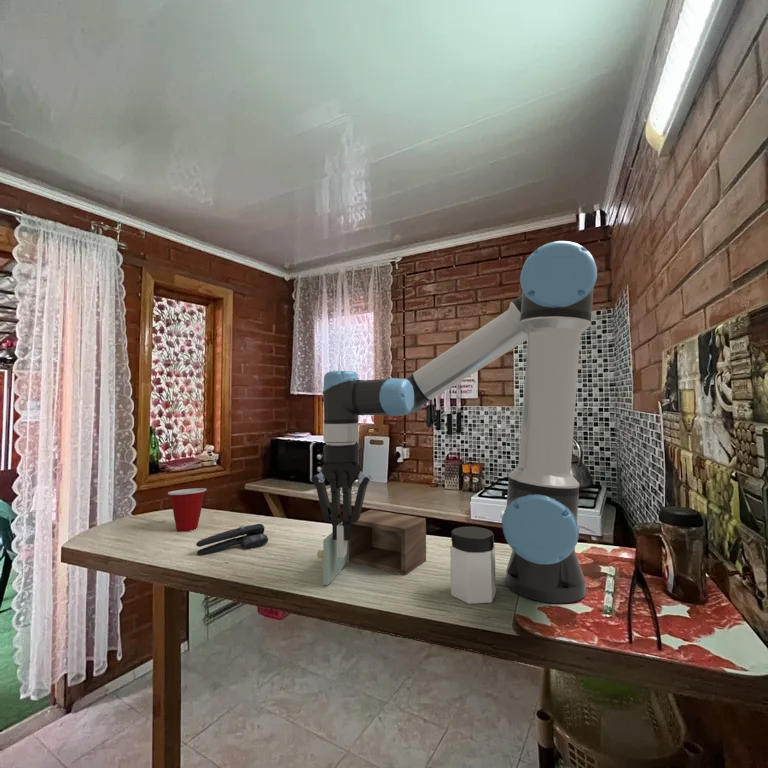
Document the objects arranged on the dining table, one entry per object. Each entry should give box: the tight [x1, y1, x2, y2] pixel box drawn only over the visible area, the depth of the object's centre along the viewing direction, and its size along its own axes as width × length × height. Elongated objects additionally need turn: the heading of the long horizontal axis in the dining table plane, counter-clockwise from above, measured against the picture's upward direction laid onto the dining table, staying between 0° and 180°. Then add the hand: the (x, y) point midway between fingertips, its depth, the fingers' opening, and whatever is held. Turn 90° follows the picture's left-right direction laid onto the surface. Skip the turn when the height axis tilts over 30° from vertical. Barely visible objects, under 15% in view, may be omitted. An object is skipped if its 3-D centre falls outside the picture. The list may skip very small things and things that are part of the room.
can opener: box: [195, 523, 269, 556], centre depth 109 cm, size 18×7×6 cm, turn 123°
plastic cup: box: [167, 487, 208, 532], centre depth 127 cm, size 11×11×12 cm
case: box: [348, 509, 427, 576], centre depth 100 cm, size 16×10×10 cm, turn 57°
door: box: [316, 531, 350, 586], centre depth 92 cm, size 14×3×9 cm, turn 167°
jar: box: [449, 526, 497, 605], centre depth 82 cm, size 9×8×12 cm
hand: (342, 555), depth 88 cm, fingers closed
